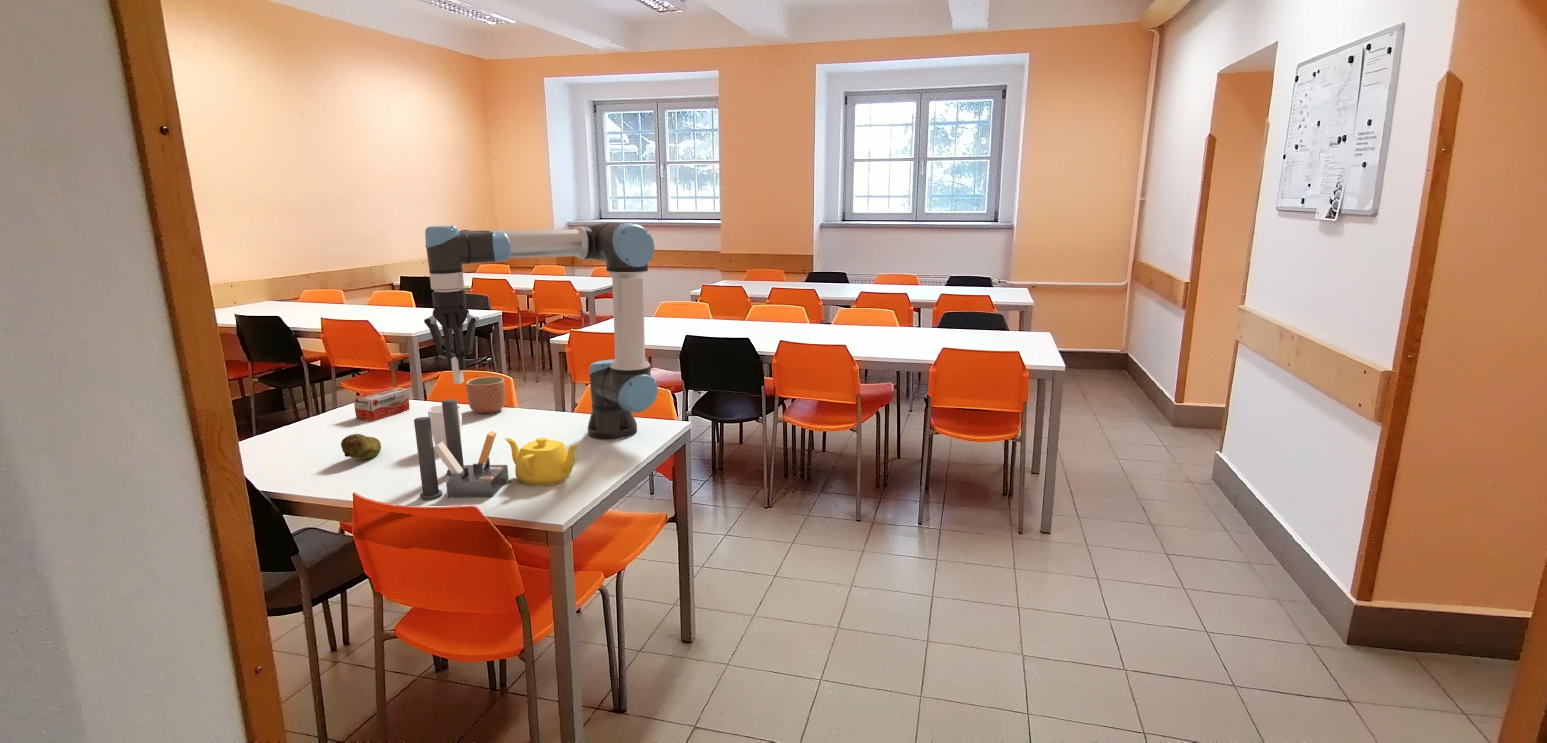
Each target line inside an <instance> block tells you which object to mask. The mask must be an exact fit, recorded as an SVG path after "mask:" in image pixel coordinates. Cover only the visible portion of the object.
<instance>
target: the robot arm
mask: <svg viewBox="0 0 1547 743" xmlns="http://www.w3.org/2000/svg"><path fill="white" fill-rule="evenodd" d="M424 236H425V238H424V240H425V246H424V247H425V249H426V255H427V262H428V268H429V269H428V270H429V281H430V282H429V283H430V289H431V290H433V291H432V292H431V296H432V297H431V298H432V305H433V311H432V315H431V316H429V317H428V318H425V319H423V322H424V324H425V325H426V327H427V328H428V329H429V332H430V334H431V337H432V340H433V342H434V343H433V344H434V345H435V348H436V351H437V354H438V355H439V356H440V357H445V358H446V359H447V367H448V370H449V371H451V372H452V377H453V378H452V379H453V385H461V384H463V382H465V379H464V372H463V371H465V370H466V368H467V364H466V357H467V356H469V355H471V354H473V349H474V348H473V347H474V340H475V332H476V327H477V324H478V322H479V320H480V318H479V316H478V315H477V316H474V315H472V314H471V313H470V310H468V307H467V297H466V291H465V290H464V289H463V288H464V287H465V282H464V272H463V265H469V264H487V263H497V264H498V262H500V263H501V262H506V261H509V259H525V258H551V257H552V258H553V257H554V258H555V257H557V258H559V257H561V258H562V257H576V258H578V259H579V260H591V261H592V260H594V261H595V260H596V261H601V262H605V263H606V267H605V268H606V273H607V274H608V275H610V277H611V280H612V305H613V306H612V308H613V328H614V329H613V332H614V334H613V335H614V356H615V357H614V359H605V360H599V361H595V362H594V361H593V362H592V363H591V364H590V365H589V373H588V376H589V383H590V384H589V385H590V397H591V398H590V399H591V400H590V401H591V413H590V417H589V421H588V424H587V435H588V436H589V437H590V438H592V439H596V440H604V441H605V440H606V441H607V440H617V439H623V438H629V437H631V436H633V435H635V434H636V433H637V432H638V424H637V421H636V418H635V416H634V413H642V412H645V411H646V410H648V409H649V408H650V407H651V406H652V405H653V404H654V403H655V401H656V400H657V397H658V395H659V386H658V383H657V382H656V380H655V378H654V377H653V376H652V372H651V370H652V369H651V363H650V362H649V361H647V359H646V347H645V346H646V345H645V344H646V343H645V318H644V317H645V314H644V312H645V310H644V276H646V274H647V273H648V272H649V265H648V264H649V263H650V262H651V260H652V259H653V257H654V254H655V248H656V247H655V241H654V239H653V236H652V234H651V232H649V231H648V230H647V229H646V228H645V227H643V225H640V224H635V223H633V222H627V223H626V222H624V223H623V222H602V223H596V224H593V225H591V224H589V225H577V226H576V227H575V228H574V229H573V228H572V229H571V228H570V229H568V228H567V229H566V228H565V229H507V230H506V229H505V230H504V229H501V230H500V229H499V230H496V229H495V230H491V229H489V230H470V229H461V230H459V227H457V226H455V225H433V226H432V225H431V226H428V227H426V228H425V230H424ZM465 322H467V326H466V333H465V340H464V332H463V330H464V323H465ZM437 323H439V324H440V326H441V329H440V328H439V326H438V324H437ZM440 330H442V332H443V335H442V333H441V331H440ZM454 344H455V345H454ZM455 352H456V353H455Z"/></svg>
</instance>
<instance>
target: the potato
mask: <svg viewBox="0 0 1547 743" xmlns="http://www.w3.org/2000/svg"><path fill="white" fill-rule="evenodd" d="M340 447H341V450H342V452H343V453H344V457H346V458H353V459H362V460H363V459H366V460H368V459H373V458H375V457H376V456H378V455H379V454H380V453H381V449H382V444H381V441H380V439H378V438H376V437H372V436H366V435H364V434H360V433H353V434H349V435H347V436H345V437H344V438H342V440H341V443H340Z"/></svg>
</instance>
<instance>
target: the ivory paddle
mask: <svg viewBox="0 0 1547 743" xmlns="http://www.w3.org/2000/svg"><path fill="white" fill-rule="evenodd" d="M433 448H434V452H435V453H436V454H437V455H438V456H439V458H440V460H441V461H442V462H443V464H444V465H445V466H446V467H447V470H448V469H449V470H450V472H451V473H461V476H462V477H463V476H464V475H465V473H466V472H465V470H463V469H462V467H461V466H460V465H459V463H458V462H457V461H456V459H455V458H454V456H453V455H452V454H451V452H450V451H449V450H448V448H447V447H446V445H445V444H444V443H443V441H442V442H440V443H439V444H437V445H436V446H435V445H434V447H433Z"/></svg>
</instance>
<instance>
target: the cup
mask: <svg viewBox="0 0 1547 743" xmlns="http://www.w3.org/2000/svg"><path fill="white" fill-rule="evenodd" d="M457 408H458V417H459V427H460V436H461V437H462V422H463V421H462V418H463V416H462V411H461V406H460V405H458V404H457ZM427 414H428V416H427V417H430V421H431V429H432V438H433V443H434V447H435V446H436V445H437V444H439V443H440V442H442V441H443V443H444V444H445V445H446V447H447V443H446V434H445V425H444V417H443V408H442V404H439V405H436V406H432V407H430V408H429V409H427Z"/></svg>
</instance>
